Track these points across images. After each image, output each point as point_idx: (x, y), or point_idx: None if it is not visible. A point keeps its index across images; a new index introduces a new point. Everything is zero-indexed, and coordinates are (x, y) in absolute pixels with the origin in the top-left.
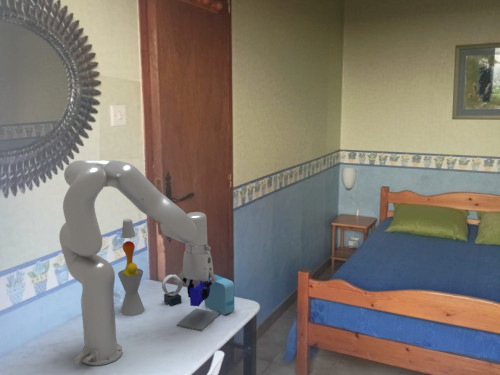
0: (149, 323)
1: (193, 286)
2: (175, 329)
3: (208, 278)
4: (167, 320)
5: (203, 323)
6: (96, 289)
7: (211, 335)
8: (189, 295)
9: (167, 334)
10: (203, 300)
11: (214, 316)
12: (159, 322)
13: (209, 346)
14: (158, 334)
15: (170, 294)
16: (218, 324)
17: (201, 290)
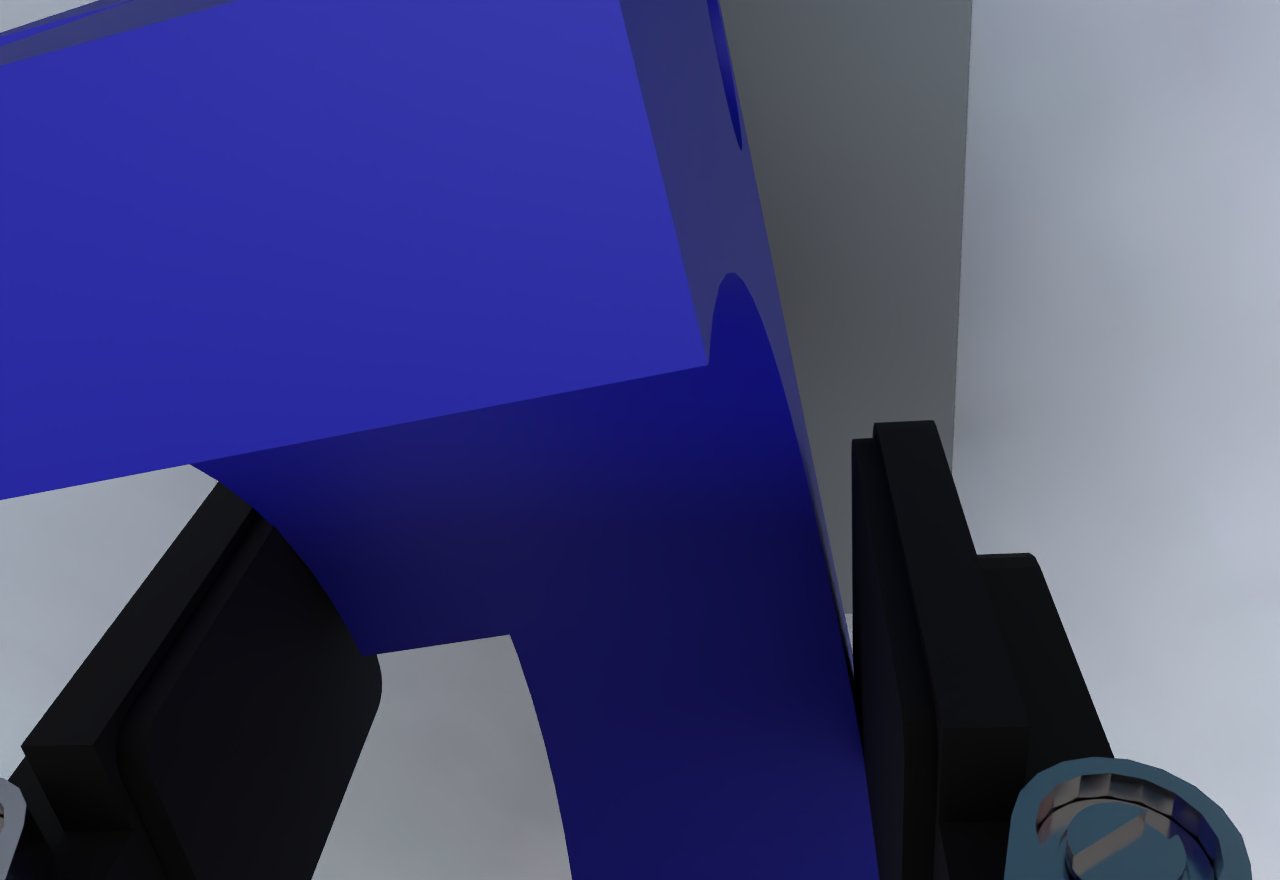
0: (17, 687)
1: (192, 711)
2: (501, 688)
3: (692, 266)
4: (155, 512)
5: (860, 420)
6: None
7: (1167, 635)
8: (349, 747)
9: (502, 823)
10: (837, 580)
11: (936, 27)
12: (109, 612)
13: (1257, 868)
14: (394, 859)
15: None
16: (1144, 249)
17: (545, 444)
